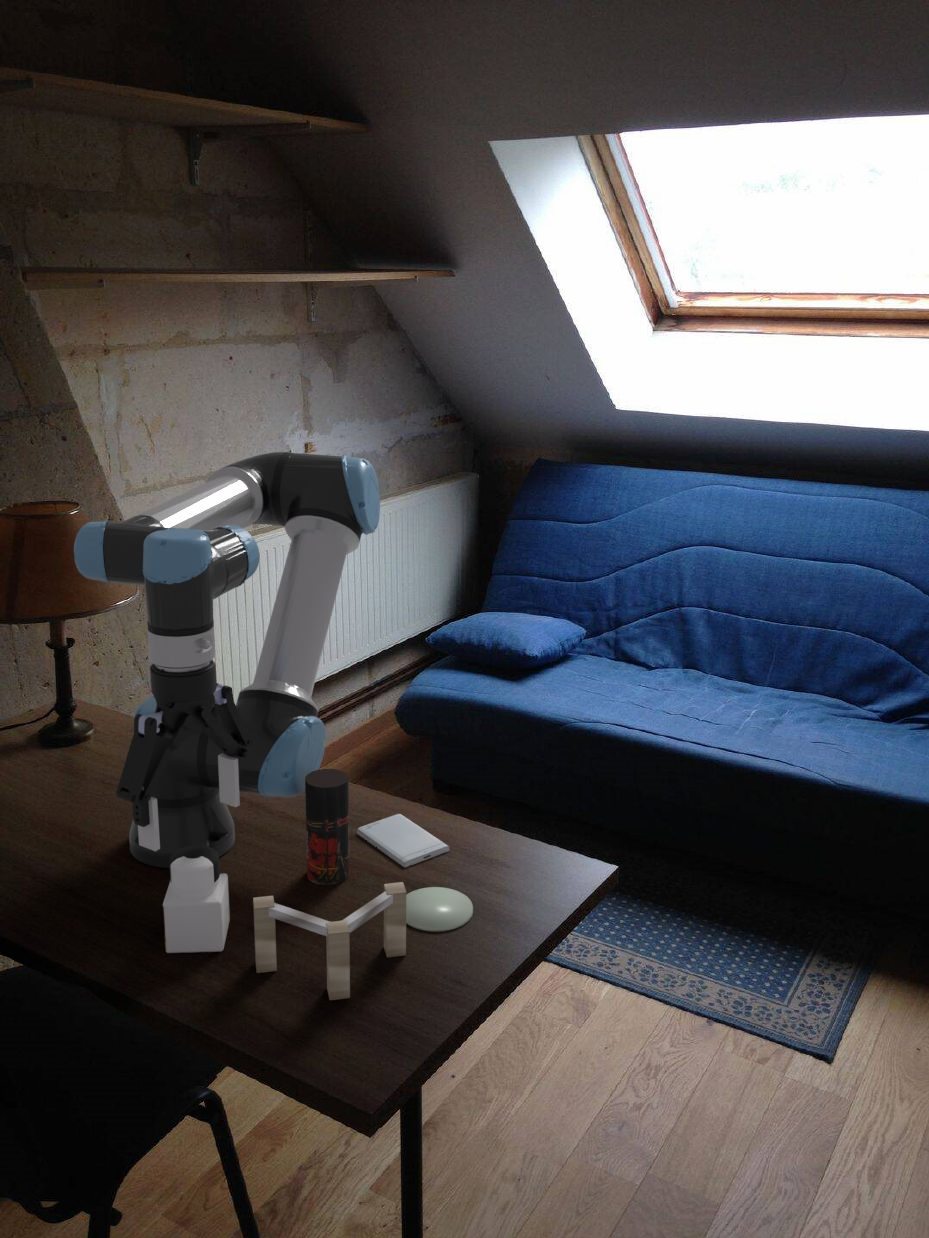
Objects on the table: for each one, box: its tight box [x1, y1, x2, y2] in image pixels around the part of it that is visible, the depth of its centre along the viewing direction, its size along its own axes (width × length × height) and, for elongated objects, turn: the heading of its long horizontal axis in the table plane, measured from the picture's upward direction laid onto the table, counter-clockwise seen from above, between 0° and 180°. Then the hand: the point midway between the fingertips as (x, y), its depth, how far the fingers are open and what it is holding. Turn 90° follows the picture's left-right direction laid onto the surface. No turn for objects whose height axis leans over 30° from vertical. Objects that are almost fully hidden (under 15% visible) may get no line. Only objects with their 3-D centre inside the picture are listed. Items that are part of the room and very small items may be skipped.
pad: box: [406, 886, 474, 933], centre depth 147 cm, size 10×10×1 cm
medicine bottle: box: [162, 846, 231, 954], centre depth 138 cm, size 7×7×12 cm
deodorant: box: [304, 768, 350, 886], centre depth 153 cm, size 6×6×15 cm
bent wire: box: [252, 881, 407, 1001], centre depth 132 cm, size 9×18×9 cm, turn 103°
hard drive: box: [356, 813, 450, 868], centre depth 165 cm, size 2×8×12 cm
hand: (191, 824), depth 135 cm, fingers open, 13 cm apart
